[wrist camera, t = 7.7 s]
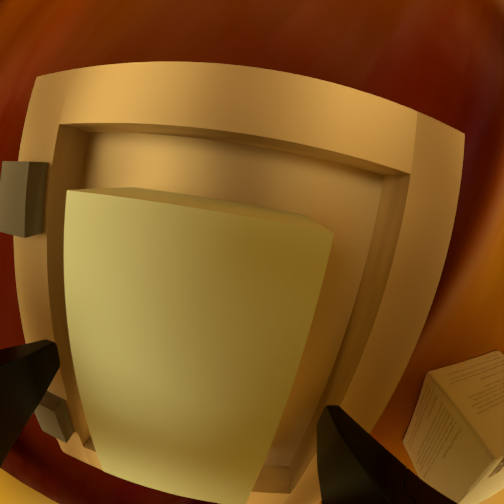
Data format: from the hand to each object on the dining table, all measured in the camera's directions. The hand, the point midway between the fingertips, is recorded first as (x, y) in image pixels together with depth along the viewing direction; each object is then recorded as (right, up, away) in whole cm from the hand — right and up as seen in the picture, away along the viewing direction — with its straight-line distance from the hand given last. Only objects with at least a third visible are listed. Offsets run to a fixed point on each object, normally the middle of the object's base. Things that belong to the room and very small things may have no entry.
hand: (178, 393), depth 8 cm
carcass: (0, +1, +4) cm, 4 cm away
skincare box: (+14, -5, +5) cm, 16 cm away
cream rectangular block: (0, +1, +3) cm, 3 cm away
